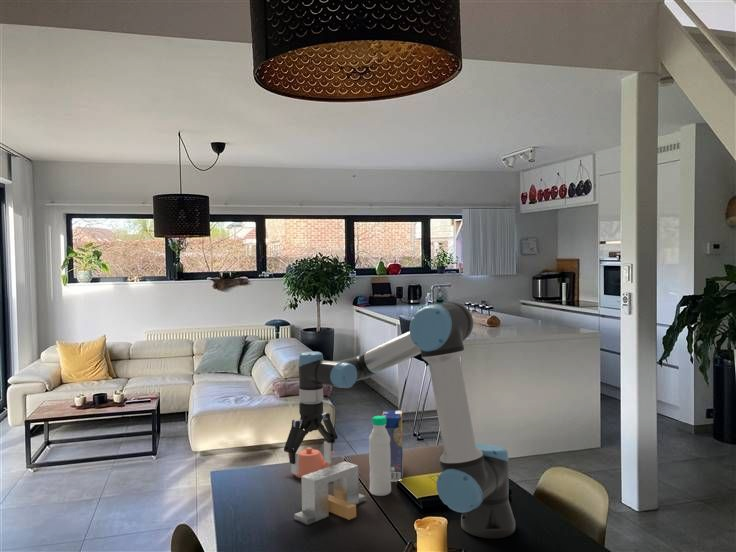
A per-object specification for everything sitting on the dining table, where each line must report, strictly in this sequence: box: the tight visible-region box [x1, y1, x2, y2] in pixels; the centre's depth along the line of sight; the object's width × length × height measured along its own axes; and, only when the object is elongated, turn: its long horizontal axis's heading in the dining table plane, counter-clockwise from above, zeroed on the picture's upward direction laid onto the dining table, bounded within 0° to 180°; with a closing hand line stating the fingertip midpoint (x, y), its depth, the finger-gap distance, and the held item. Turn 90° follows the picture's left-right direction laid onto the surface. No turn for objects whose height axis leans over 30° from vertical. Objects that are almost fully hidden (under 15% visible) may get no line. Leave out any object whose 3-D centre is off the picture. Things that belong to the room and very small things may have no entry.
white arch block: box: [293, 461, 367, 526], centre depth 184 cm, size 6×24×12 cm, turn 136°
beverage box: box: [381, 409, 404, 483], centre depth 212 cm, size 7×11×22 cm, turn 175°
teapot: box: [287, 446, 336, 479], centre depth 215 cm, size 12×18×10 cm
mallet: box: [328, 493, 357, 521], centre depth 185 cm, size 20×5×8 cm, turn 46°
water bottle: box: [368, 415, 392, 497], centre depth 197 cm, size 7×7×25 cm
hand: (311, 467), depth 190 cm, fingers open, 13 cm apart
